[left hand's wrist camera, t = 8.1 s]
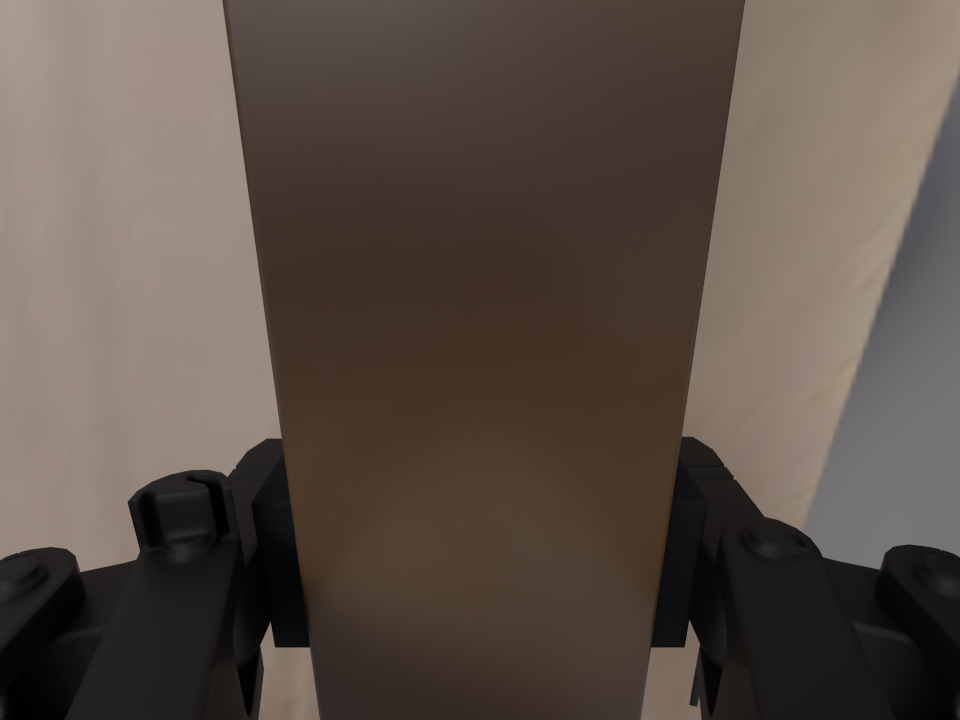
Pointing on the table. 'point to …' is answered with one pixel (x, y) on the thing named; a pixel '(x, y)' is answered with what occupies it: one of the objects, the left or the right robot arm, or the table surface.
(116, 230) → the table surface
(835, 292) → the table surface
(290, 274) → the beam
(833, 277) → the table surface
